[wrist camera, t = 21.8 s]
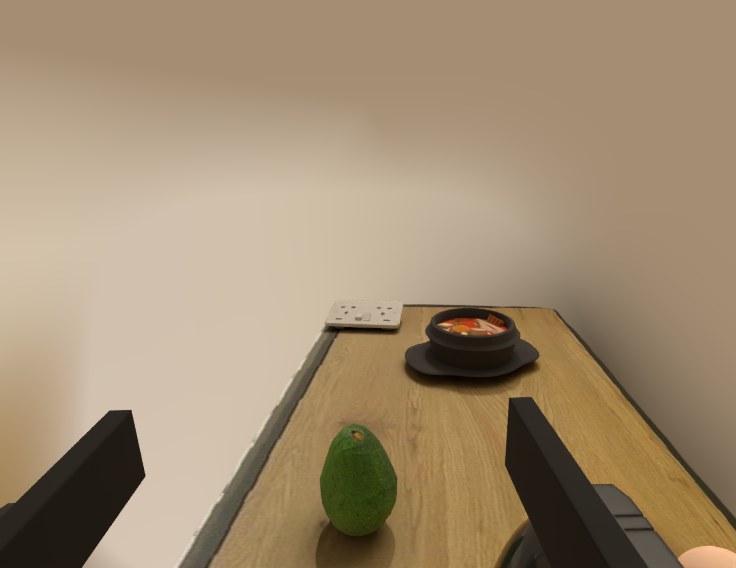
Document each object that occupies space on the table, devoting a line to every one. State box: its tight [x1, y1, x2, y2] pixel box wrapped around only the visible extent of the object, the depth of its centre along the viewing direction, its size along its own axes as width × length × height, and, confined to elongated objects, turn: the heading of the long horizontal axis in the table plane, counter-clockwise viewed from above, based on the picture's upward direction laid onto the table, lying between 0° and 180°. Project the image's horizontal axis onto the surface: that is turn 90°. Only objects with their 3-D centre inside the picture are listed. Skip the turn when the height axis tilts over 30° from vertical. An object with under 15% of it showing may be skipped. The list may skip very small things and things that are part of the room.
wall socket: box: [325, 300, 403, 330], centre depth 101 cm, size 18×15×4 cm
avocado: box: [320, 424, 397, 537], centre depth 45 cm, size 8×8×12 cm
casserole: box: [405, 308, 539, 377], centre depth 80 cm, size 25×19×8 cm
